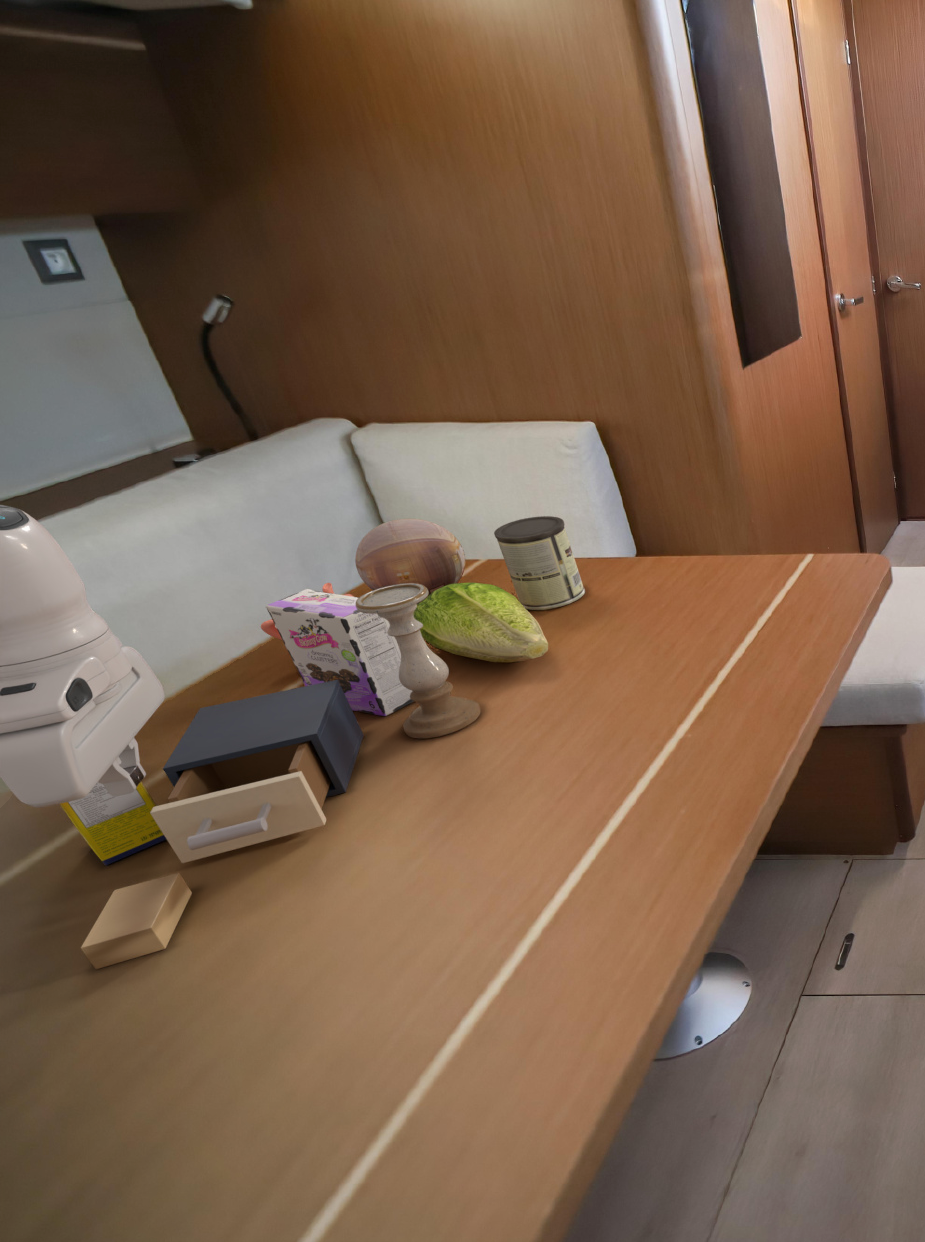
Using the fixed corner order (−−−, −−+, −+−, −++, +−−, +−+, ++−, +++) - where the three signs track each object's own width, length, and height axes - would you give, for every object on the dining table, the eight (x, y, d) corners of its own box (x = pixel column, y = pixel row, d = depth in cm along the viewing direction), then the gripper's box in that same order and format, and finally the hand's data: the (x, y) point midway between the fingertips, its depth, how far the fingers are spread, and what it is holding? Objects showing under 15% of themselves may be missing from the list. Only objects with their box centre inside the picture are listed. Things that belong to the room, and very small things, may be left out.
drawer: (317, 849, 102) (290, 799, 99) (168, 890, 96) (134, 838, 93) (344, 765, 116) (321, 719, 113) (215, 797, 110) (187, 749, 107)
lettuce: (478, 666, 130) (535, 594, 135) (382, 622, 139) (438, 556, 144) (543, 697, 141) (594, 630, 145) (449, 654, 149) (500, 592, 154)
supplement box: (159, 818, 108) (113, 745, 103) (177, 836, 105) (130, 761, 100) (88, 847, 103) (36, 772, 98) (104, 867, 100) (52, 790, 95)
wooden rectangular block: (95, 969, 88) (79, 948, 86) (128, 910, 95) (113, 889, 93) (165, 948, 90) (151, 927, 89) (192, 892, 97) (179, 872, 96)
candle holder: (412, 713, 128) (357, 587, 119) (485, 699, 132) (437, 575, 123) (398, 745, 121) (339, 614, 112) (476, 729, 125) (425, 601, 116)
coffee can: (515, 595, 163) (490, 524, 156) (580, 581, 168) (558, 511, 162) (523, 616, 155) (497, 542, 149) (590, 600, 161) (568, 528, 155)
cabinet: (346, 792, 112) (316, 733, 108) (199, 830, 106) (162, 768, 102) (364, 734, 123) (337, 679, 119) (232, 765, 117) (199, 708, 113)
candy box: (311, 704, 130) (261, 604, 123) (352, 683, 135) (307, 587, 128) (385, 718, 127) (339, 616, 120) (424, 696, 132) (382, 598, 125)
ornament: (495, 579, 168) (468, 505, 162) (442, 616, 155) (411, 537, 148) (412, 581, 167) (382, 506, 161) (352, 618, 154) (317, 538, 147)
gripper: (62, 630, 90) (130, 742, 97) (-56, 733, 74) (35, 859, 81) (147, 617, 93) (208, 726, 99) (51, 714, 77) (131, 836, 83)
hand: (130, 786), depth 90 cm, fingers closed
